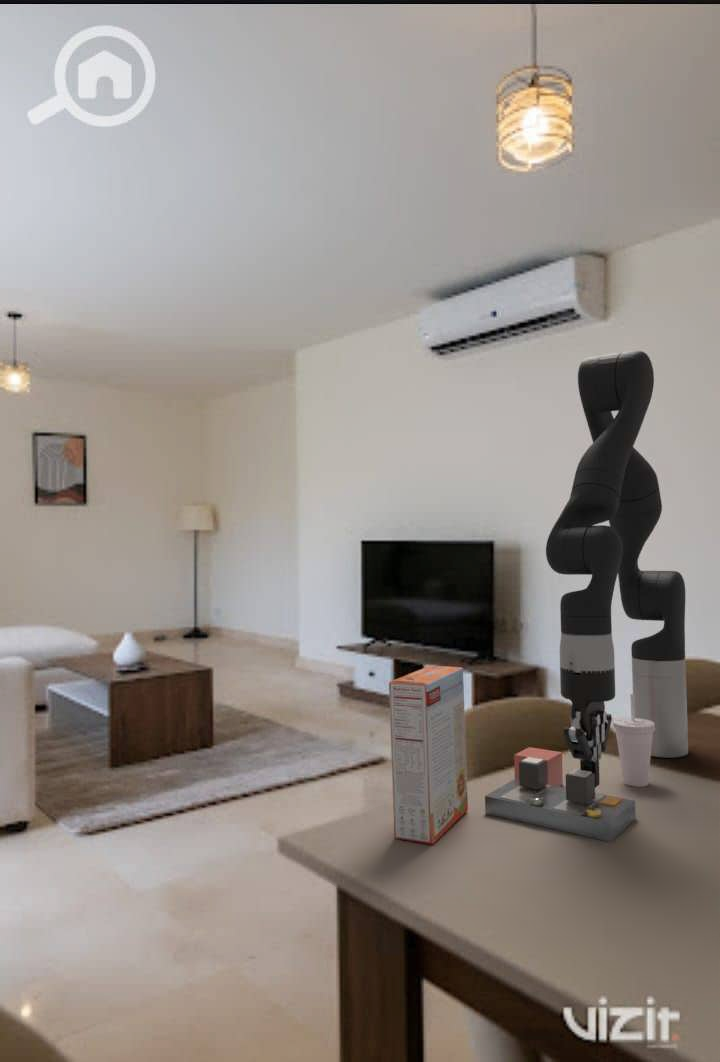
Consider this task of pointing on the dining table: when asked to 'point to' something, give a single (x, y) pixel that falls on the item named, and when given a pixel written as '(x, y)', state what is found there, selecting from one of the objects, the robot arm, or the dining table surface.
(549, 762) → the salmon pink cube
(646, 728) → the smoothie
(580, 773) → the toggle
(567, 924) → the dining table surface
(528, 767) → the toggle
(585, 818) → the panel
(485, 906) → the dining table surface
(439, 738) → the cracker box
